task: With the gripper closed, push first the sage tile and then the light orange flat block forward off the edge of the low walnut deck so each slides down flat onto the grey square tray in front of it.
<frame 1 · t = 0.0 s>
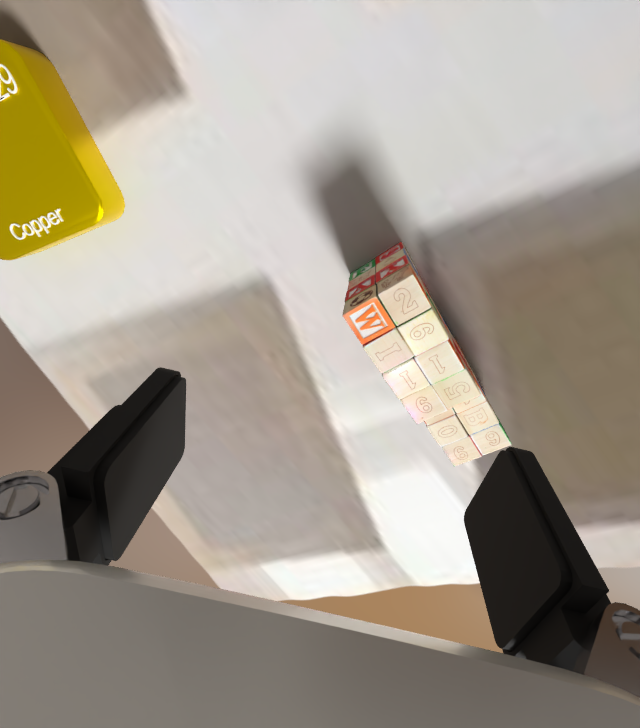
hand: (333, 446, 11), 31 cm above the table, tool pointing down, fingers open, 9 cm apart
element tile: (36, 163, 39), on the table
stack of blocks: (421, 336, 43), on the table
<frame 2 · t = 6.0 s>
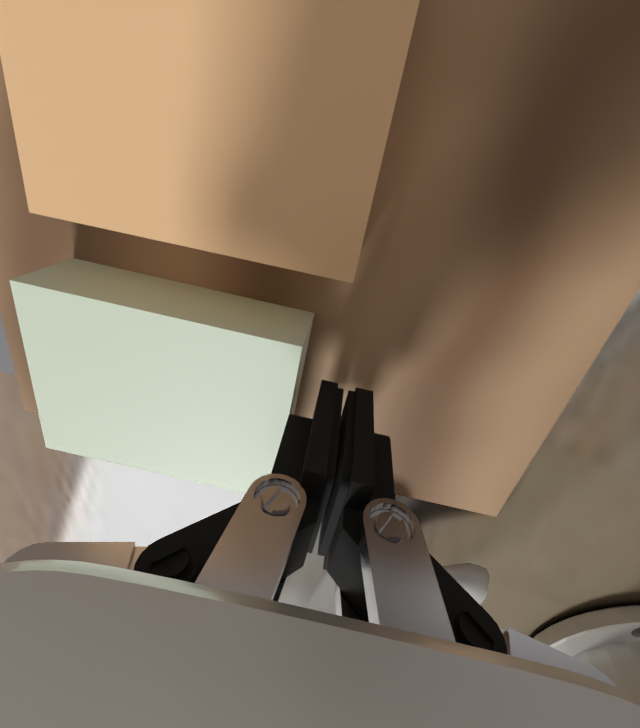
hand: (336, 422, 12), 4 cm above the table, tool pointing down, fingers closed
sage tile: (191, 364, 14), point 3 cm above the table, touching gripper
walnut deck: (298, 258, 14), on the table
bunny figurine: (330, 546, 22), on the table
light orange flat block: (232, 111, 10), point 2 cm above the table, touching walnut deck
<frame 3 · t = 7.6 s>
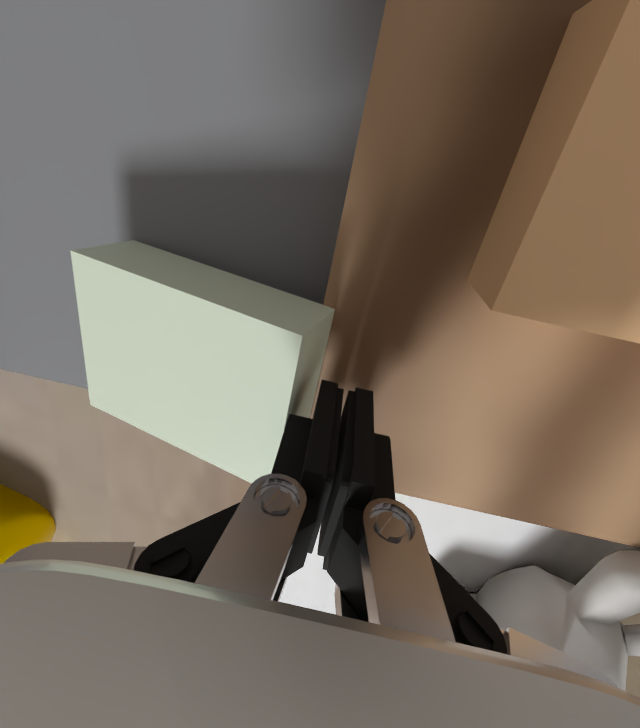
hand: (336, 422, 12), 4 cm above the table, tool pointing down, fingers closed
sage tile: (221, 348, 14), point 2 cm above the table, tilted 16°, touching walnut deck
grey square tray: (120, 215, 14), on the table
walnut deck: (602, 322, 14), on the table
bunny figurine: (517, 587, 22), on the table
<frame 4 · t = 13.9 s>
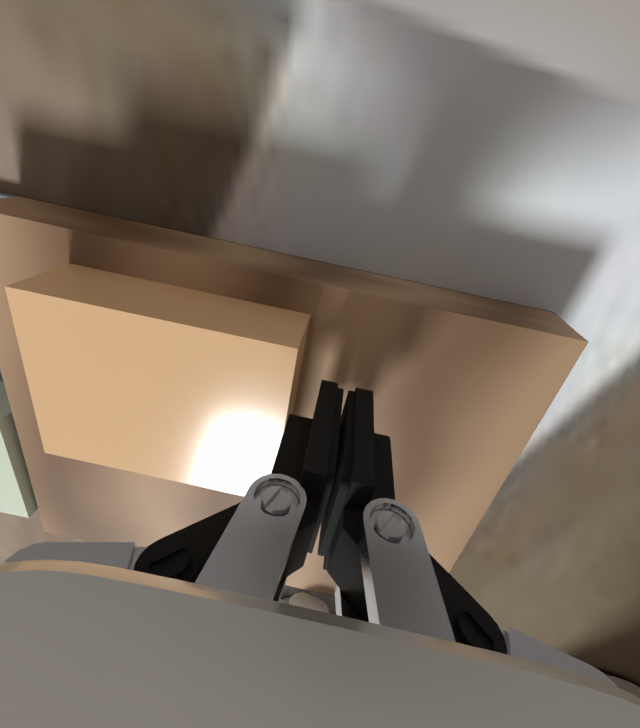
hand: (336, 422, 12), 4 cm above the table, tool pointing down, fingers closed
walnut deck: (261, 423, 18), on the table
bunny figurine: (290, 614, 26), on the table
light orange flat block: (188, 367, 14), point 3 cm above the table, touching gripper, walnut deck
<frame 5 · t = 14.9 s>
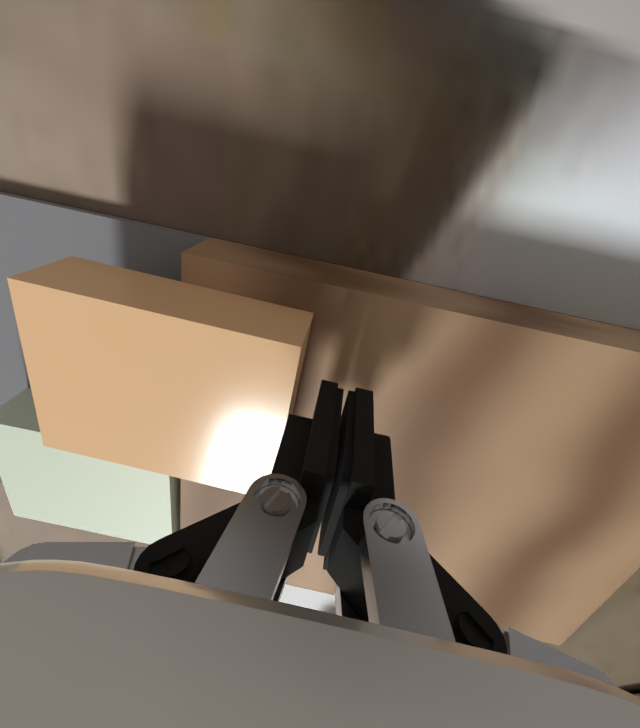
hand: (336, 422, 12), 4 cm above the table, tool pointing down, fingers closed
sage tile: (116, 451, 19), resting on grey square tray
grey square tray: (38, 373, 18), on the table
walnut deck: (411, 455, 18), on the table
light orange flat block: (189, 363, 14), point 3 cm above the table, touching gripper
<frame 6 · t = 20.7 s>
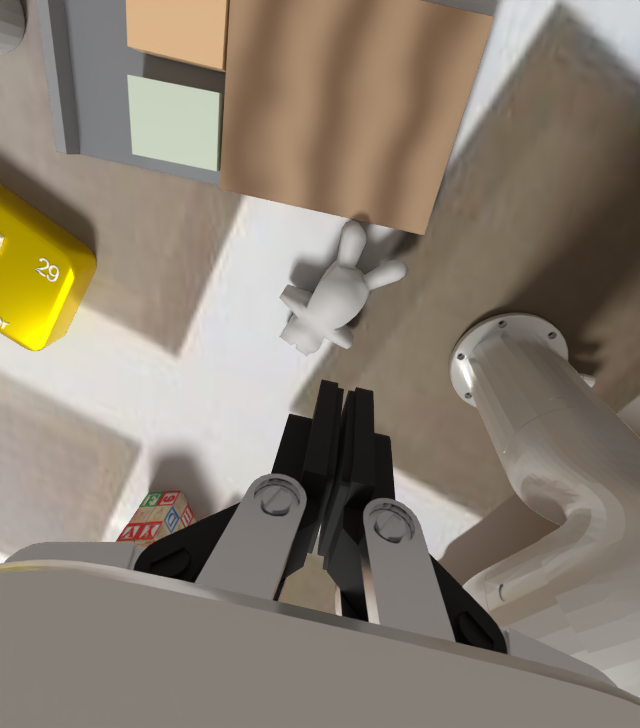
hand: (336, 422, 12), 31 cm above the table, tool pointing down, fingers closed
sage tile: (185, 126, 36), resting on grey square tray
grey square tray: (148, 72, 34), on the table
walnut deck: (341, 116, 34), on the table
bunny figurine: (335, 290, 43), on the table
element tile: (25, 263, 46), on the table
stack of blocks: (188, 533, 67), on the table
light orange flat block: (188, 19, 32), resting on grey square tray
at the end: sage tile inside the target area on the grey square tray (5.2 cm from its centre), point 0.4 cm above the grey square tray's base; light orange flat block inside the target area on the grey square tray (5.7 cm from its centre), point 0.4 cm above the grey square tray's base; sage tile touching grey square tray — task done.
